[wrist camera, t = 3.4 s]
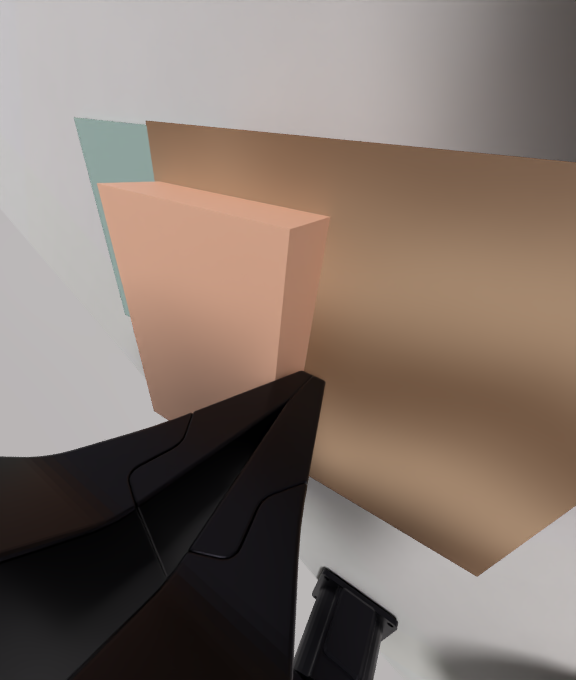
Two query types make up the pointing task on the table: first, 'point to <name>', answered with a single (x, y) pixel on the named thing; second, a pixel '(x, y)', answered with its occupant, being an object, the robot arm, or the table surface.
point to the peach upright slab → (213, 288)
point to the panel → (114, 164)
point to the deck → (426, 324)
